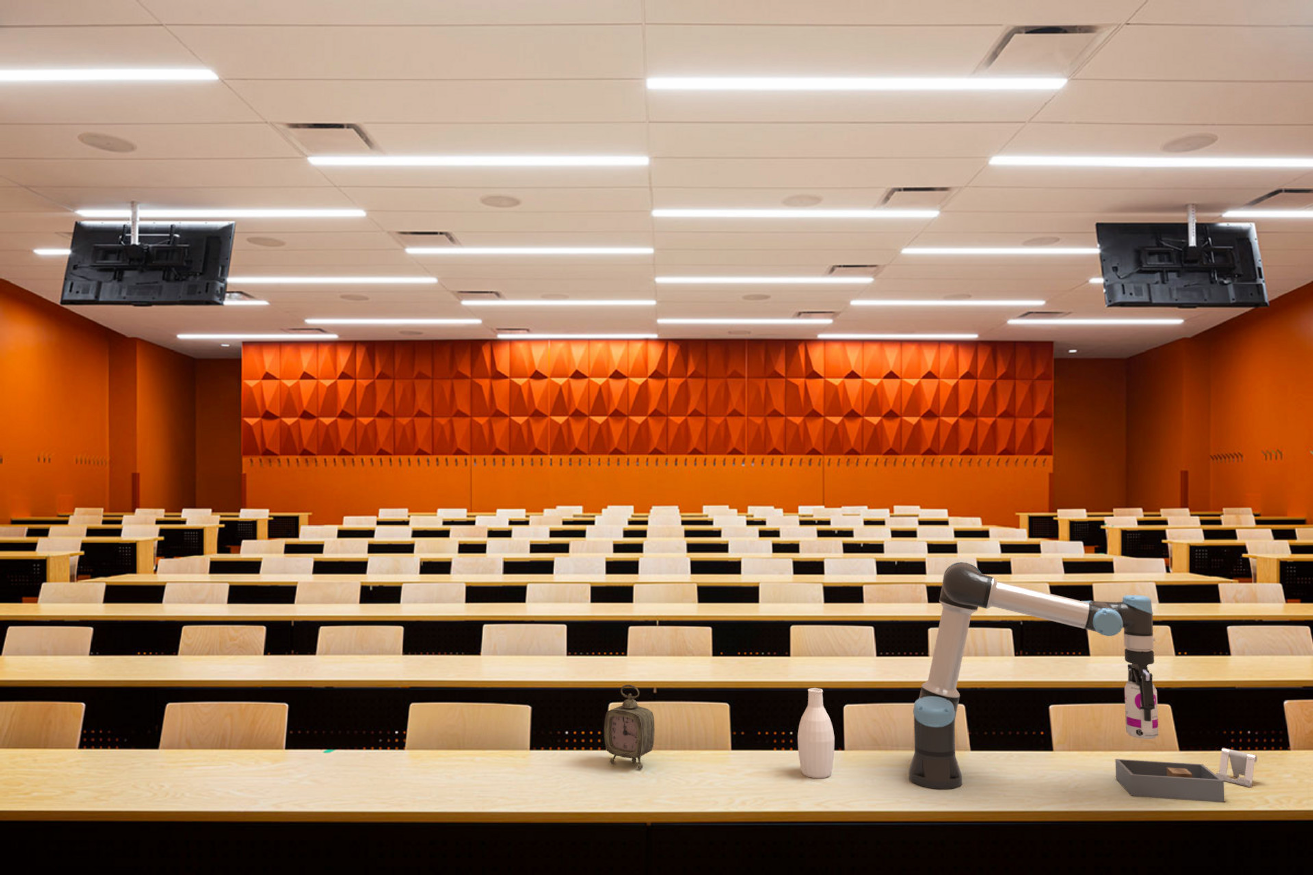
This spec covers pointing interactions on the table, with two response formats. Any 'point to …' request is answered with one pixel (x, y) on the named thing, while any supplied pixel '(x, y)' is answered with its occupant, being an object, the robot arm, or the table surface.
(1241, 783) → the portable electronic device stand
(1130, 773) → the tote
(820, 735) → the bottle
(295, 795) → the table surface
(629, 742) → the tabletop clock
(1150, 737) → the supplement can
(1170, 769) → the walnut cube
